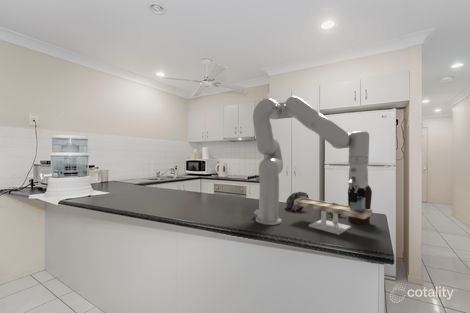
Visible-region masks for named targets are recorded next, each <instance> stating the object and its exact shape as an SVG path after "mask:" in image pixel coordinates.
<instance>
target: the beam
mask: <svg viewBox="0 0 470 313" xmlns="http://www.w3.org/2000/svg"><path fill="white" fill-rule="evenodd" d="M294 205H298V206H303V208H309V209H314V210H318V211H326V212H327V213H329V212H332V213H337V214H341V215H340V216H347V217H348V216H351V217H356V218H361V219H366V218H367V217H369V216H370V217H371V216H373V209H372V208H370V209H365V212H363V213H359V212H354V211H350V206H348V204H341V203H336V202H331V201H330V202H329V201H323V200H319V199H311V198H304V197H303V198H299V199H295V200H294Z"/></svg>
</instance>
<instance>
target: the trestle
mask: <svg viewBox="0 0 470 313" xmlns="http://www.w3.org/2000/svg"><path fill="white" fill-rule="evenodd" d="M320 211H321V212H320V213H321V214H320V219H319V220H317V221H314V222H312V223H310V224H308V227H310V228H313V229H316V230H320V231H324V232H328V233H332V234H335V235H340V234H343V233H344V232H346V231H348V230H350V229H351V228H352V226H351V225H348V224H343V223H339V217H338V214H337V213H333V218H332V221H331V220H327V219H328V218H327V216H328V215H327V213H328V212H326V211H322V210H320Z"/></svg>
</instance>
